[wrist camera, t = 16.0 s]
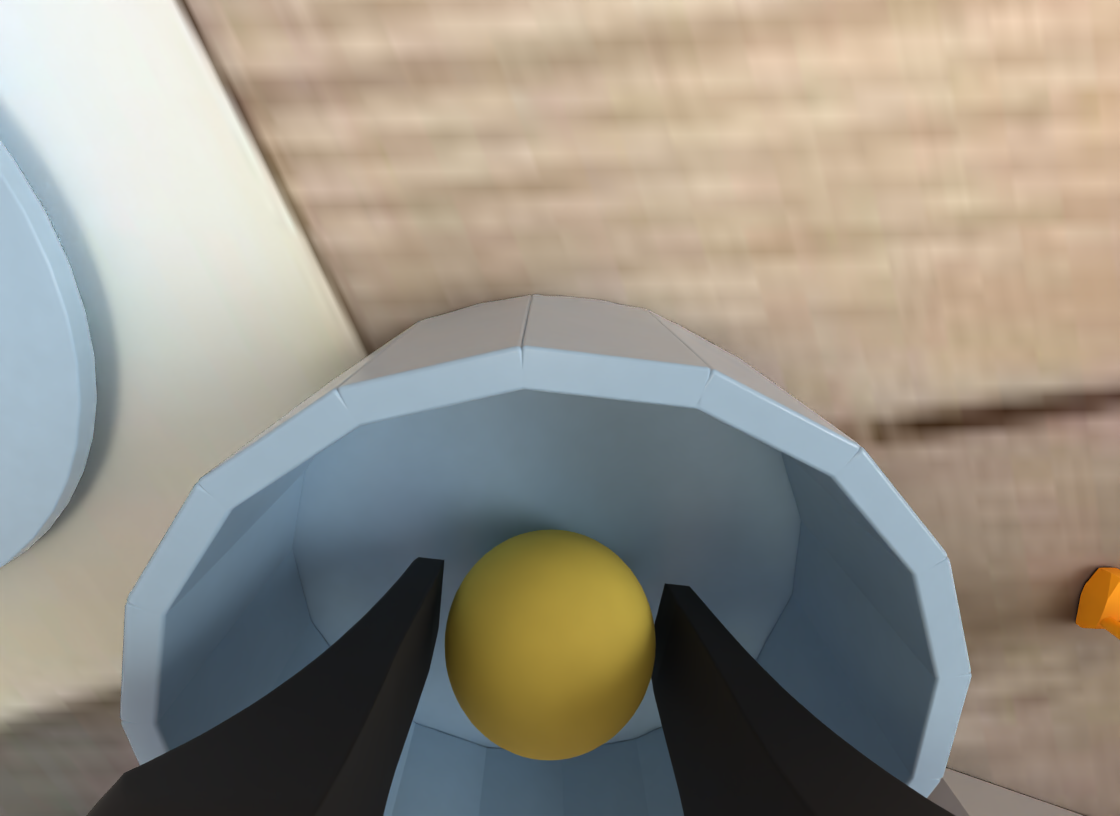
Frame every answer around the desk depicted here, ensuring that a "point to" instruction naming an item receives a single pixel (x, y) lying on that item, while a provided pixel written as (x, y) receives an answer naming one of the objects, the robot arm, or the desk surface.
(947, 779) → the icon cube
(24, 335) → the lid
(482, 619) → the ball
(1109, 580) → the toy figure
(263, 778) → the robot arm
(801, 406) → the pot
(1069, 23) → the desk surface
